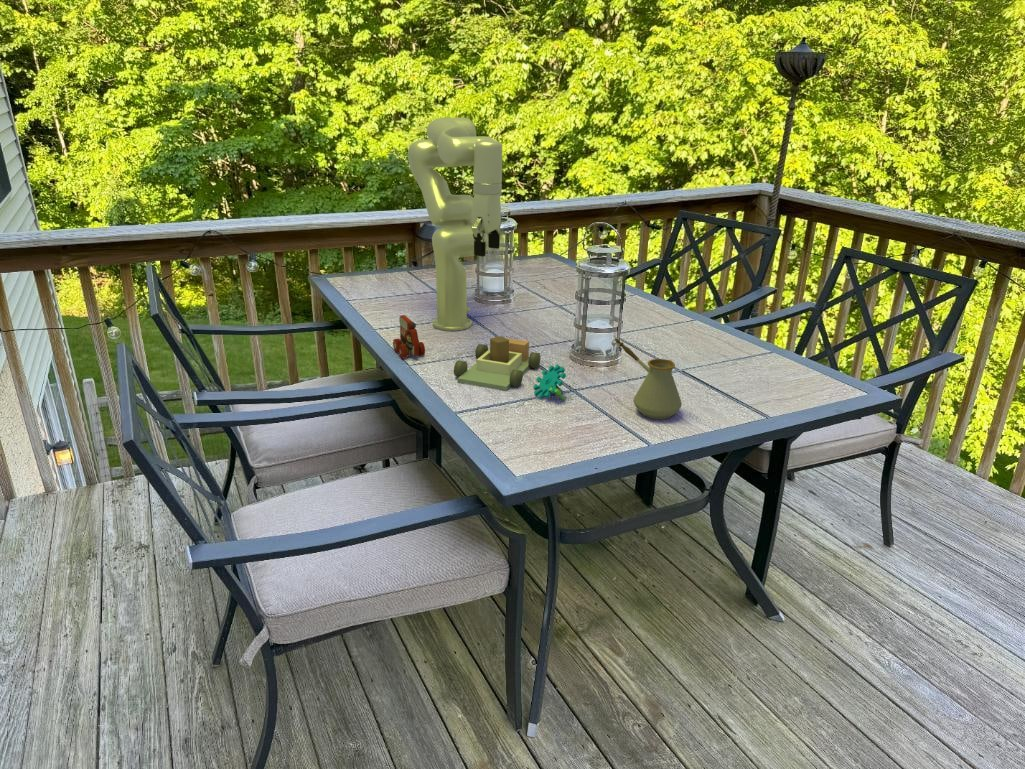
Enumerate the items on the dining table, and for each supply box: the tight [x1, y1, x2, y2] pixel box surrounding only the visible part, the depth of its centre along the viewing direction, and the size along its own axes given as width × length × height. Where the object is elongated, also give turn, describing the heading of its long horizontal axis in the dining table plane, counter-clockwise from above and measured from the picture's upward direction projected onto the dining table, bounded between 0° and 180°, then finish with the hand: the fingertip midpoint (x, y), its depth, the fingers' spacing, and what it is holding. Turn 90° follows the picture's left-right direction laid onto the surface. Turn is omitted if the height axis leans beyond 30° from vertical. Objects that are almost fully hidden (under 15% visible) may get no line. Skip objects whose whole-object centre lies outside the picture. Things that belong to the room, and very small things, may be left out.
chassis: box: [453, 335, 542, 392], centre depth 200 cm, size 22×18×6 cm
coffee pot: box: [611, 337, 683, 420], centre depth 179 cm, size 21×12×15 cm, turn 39°
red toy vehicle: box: [392, 314, 426, 359], centre depth 211 cm, size 7×12×10 cm, turn 26°
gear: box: [532, 363, 567, 402], centre depth 186 cm, size 11×6×10 cm
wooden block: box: [489, 335, 509, 363], centre depth 200 cm, size 4×4×8 cm
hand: (486, 251), depth 203 cm, fingers open, 9 cm apart
